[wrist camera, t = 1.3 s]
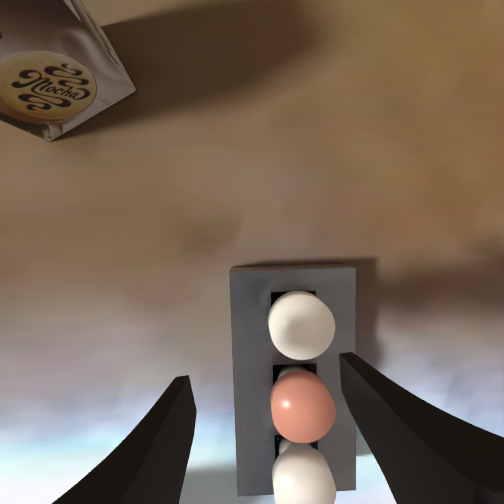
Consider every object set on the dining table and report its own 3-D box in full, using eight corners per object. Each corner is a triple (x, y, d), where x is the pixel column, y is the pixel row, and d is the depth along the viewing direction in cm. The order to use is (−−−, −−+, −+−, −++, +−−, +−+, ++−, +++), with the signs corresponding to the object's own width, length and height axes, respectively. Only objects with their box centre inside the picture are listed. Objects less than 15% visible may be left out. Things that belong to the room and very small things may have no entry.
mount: (342, 458, 24) (355, 490, 21) (238, 463, 24) (237, 496, 21) (341, 263, 23) (355, 267, 20) (231, 267, 23) (229, 272, 20)
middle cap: (318, 402, 22) (335, 441, 18) (267, 404, 22) (273, 444, 18) (318, 353, 21) (335, 381, 17) (266, 355, 21) (271, 383, 17)
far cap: (319, 467, 22) (336, 520, 18) (269, 470, 22) (275, 523, 18) (319, 420, 22) (335, 462, 18) (268, 422, 22) (273, 466, 18)
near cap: (318, 334, 21) (335, 358, 17) (266, 336, 21) (270, 361, 17) (317, 282, 21) (334, 295, 17) (264, 284, 21) (269, 297, 17)
